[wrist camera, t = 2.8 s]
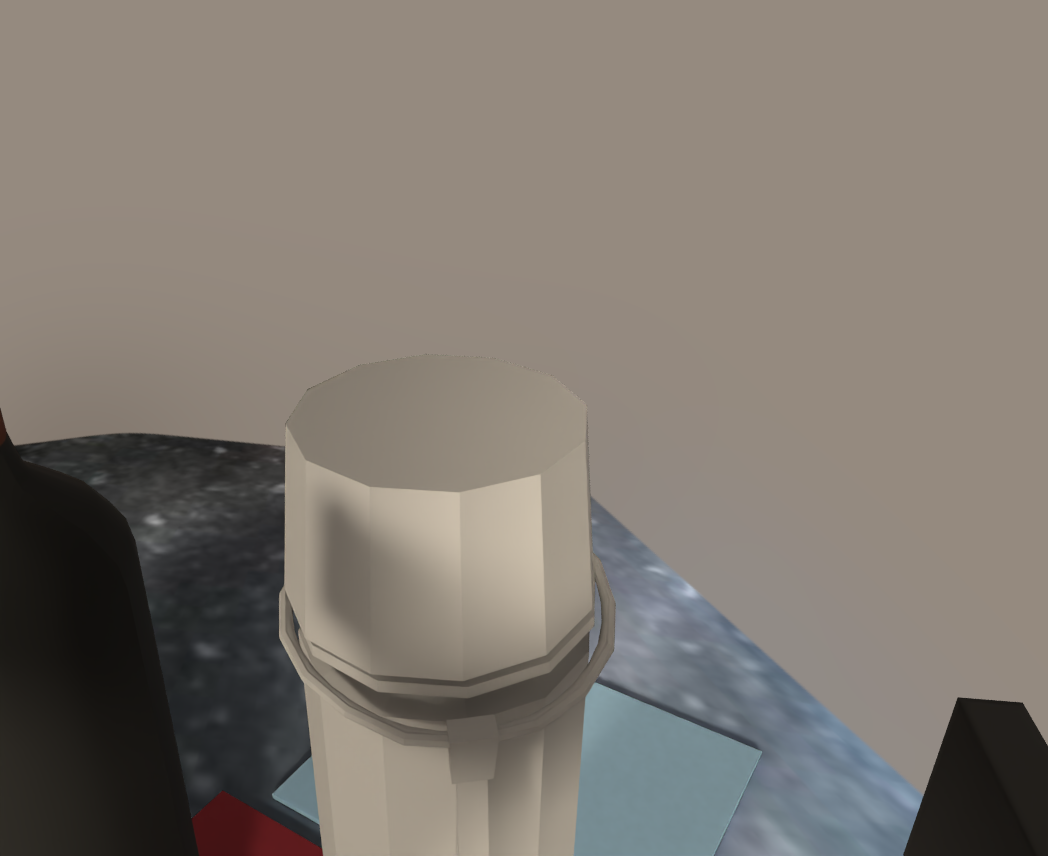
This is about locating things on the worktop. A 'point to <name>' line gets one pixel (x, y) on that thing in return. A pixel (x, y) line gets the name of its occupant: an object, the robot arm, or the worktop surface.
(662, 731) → the blue mat
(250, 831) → the burgundy mat
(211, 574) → the worktop surface
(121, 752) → the wine bottle
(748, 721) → the worktop surface
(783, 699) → the worktop surface
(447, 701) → the water bottle
